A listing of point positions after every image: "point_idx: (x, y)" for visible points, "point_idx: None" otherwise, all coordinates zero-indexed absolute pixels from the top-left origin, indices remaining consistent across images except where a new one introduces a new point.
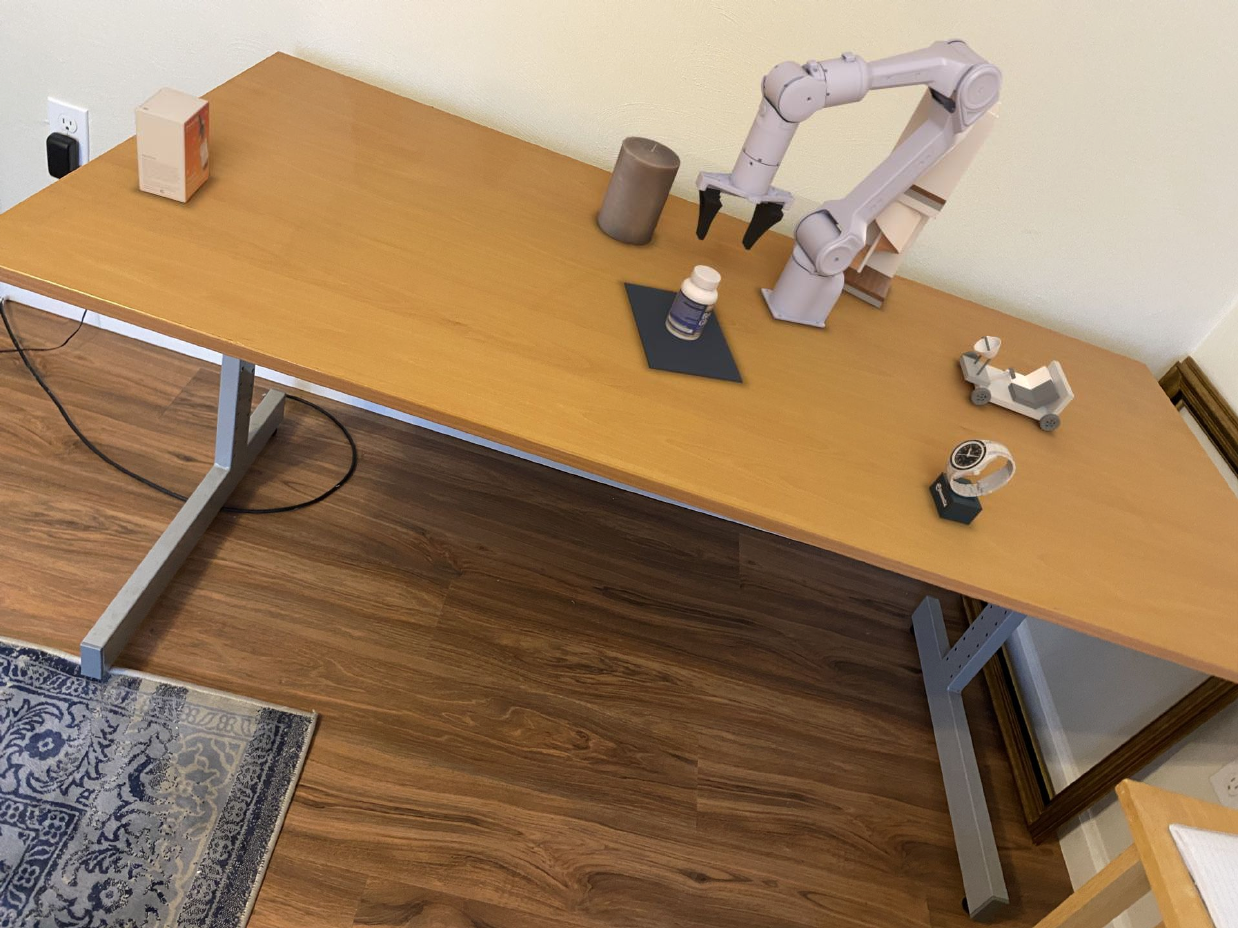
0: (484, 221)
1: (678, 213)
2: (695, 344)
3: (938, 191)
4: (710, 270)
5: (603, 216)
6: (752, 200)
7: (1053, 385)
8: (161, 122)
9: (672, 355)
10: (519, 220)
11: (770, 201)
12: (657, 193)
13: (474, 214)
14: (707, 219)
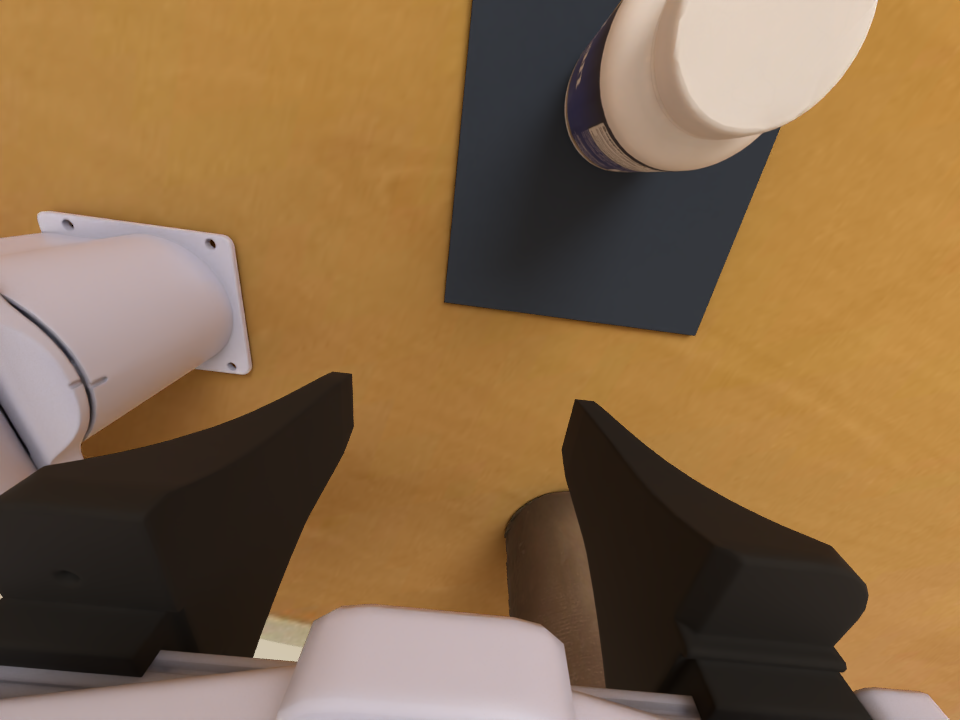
0: (925, 504)
1: (400, 602)
2: (612, 7)
3: None
4: (723, 75)
5: None
6: (502, 664)
7: None
8: None
9: None
10: (829, 521)
11: (96, 693)
12: (597, 634)
13: (931, 522)
14: (662, 465)
